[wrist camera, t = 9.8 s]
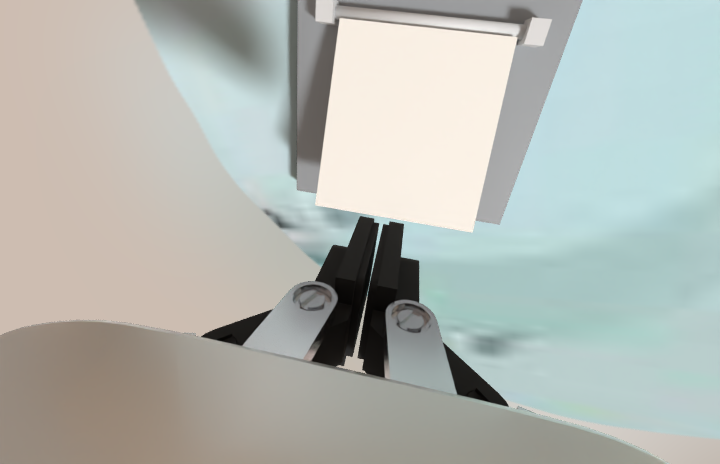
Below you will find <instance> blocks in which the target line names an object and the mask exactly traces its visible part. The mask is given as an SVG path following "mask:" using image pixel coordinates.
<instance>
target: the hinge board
mask: <svg viewBox="0 0 720 464" xmlns="http://www.w3.org/2000/svg"><path fill="white" fill-rule="evenodd" d="M581 3H582V0H298V43H297V190H299V191H305V192H311V193H317V188H318V180H319V172H320V165H321V157H322V149H323V142H324V134H325V126H326V119H327V111H328V103H329V96H330V88H331V80H332V73H333V65H334V57H335V50H336V42H337V35H338V27H339V19H340V18H344V19H353V20H362V21H372V22H381V23H390V24H399V25H409V26H418V27H427V28H437V29H446V30H455V31H465V32H474V33H483V34H493V35H502V36H511V37H518V38H517V42H516V46H515V51H514V55H513V59H512V64H511V68H510V72H509V77H508V81H507V85H506V90H505V94H504V98H503V103H502V107H501V111H500V116H499V120H498V124H497V129H496V133H495V137H494V142H493V146H492V150H491V155H490V159H489V164H488V168H487V172H486V177H485V181H484V185H483V190H482V194H481V198H480V203H479V207H478V211H477V216H476V220H475V221H481V222H487V223H493V224H500V222H501V219H502V216H503V214H504V211H505V208H506V206H507V203H508V200H509V197H510V195H511V192H512V189H513V187H514V184H515V181H516V179H517V176H518V173H519V170H520V168H521V165H522V162H523V160H524V157H525V154H526V152H527V149H528V146H529V144H530V141H531V138H532V135H533V133H534V130H535V127H536V125H537V122H538V119H539V117H540V114H541V111H542V108H543V106H544V103H545V100H546V98H547V95H548V92H549V90H550V87H551V84H552V81H553V79H554V76H555V73H556V71H557V68H558V65H559V63H560V60H561V57H562V54H563V52H564V49H565V46H566V44H567V41H568V38H569V36H570V33H571V30H572V27H573V25H574V22H575V19H576V17H577V14H578V11H579V9H580V6H581Z"/></svg>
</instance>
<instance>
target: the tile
mask: <svg viewBox="0 0 720 464" xmlns="http://www.w3.org/2000/svg"><path fill="white" fill-rule="evenodd" d="M517 38H518V37H511V36H502V35H493V34H483V33H474V32H465V31H455V30H446V29H437V28H427V27H418V26H409V25H399V24H390V23H381V22H372V21H362V20H353V19H344V18H340V19H339V27H338V35H337V42H336V50H335V57H334V65H333V73H332V80H331V88H330V96H329V103H328V111H327V119H326V126H325V134H324V142H323V149H322V157H321V165H320V172H319V180H318V188H317V195H316V203H315V205H317V206H323V207H329V208H335V209H340V210H346V211H352V212H357V213H363V214H369V215H375V216H380V217H386V218H392V219H398V220H403V221H409V222H415V223H421V224H426V225H432V226H438V227H444V228H449V229H455V230H461V231H466V232H472V233H473V229H474V224H475V220H476V216H477V211H478V207H479V203H480V198H481V194H482V190H483V185H484V181H485V177H486V172H487V168H488V164H489V159H490V155H491V150H492V146H493V142H494V137H495V133H496V129H497V124H498V120H499V116H500V111H501V107H502V103H503V98H504V94H505V90H506V85H507V81H508V77H509V72H510V68H511V64H512V59H513V55H514V51H515V46H516V42H517Z"/></svg>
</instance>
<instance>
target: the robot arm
mask: <svg viewBox="0 0 720 464" xmlns="http://www.w3.org/2000/svg"><path fill="white" fill-rule="evenodd" d="M378 227H379V223H374V219H373V218H367V217H362V216H360V218H359V220H358V223H357V225H356V228H355V230H354V233H353V235H352V238H351V240H350V243H349V245H348V247H344V246H338V245H333V246H332V248H331V250H330V252H329V254H328V256H327V258H326V260H325V262H324V264H323V266H322V268H321V270H320V272H319V274H318V276H317V278H316V280H315V281H308V282H303V283H300V284H298V285H296V286H294V287H293V288H292V289H290V291H289V292H288V293H287V294H286V295H285V296H284V297H283V299H282V300H281V301H280V302H279V303H278V304H277V306H276V307H275V308H274V309H272V310H269V311H266V312H264V313H261V314H258V315H255V316H252V317H249V318H247V319H243V320H241V321H238V322H235V323H232V324H229V325H226V326H223V327H220V328H217V329H215V330H212V331H210V332H208V333H206V334H204V335H203V336H201V337H199V336H196V334H195V333H180V332H175V331H170V330H165V329H159V328H153V327H148V326H142V325H137V324H131V323H125V322H115V321H106V320H71V321H59V322H49V323H42V324H36V325H31V326H27V327H22V328H19V329H16V330H13V331H10V332H7V333H4V334H2V335H0V464H670V463H668V462H666V461H664V460H663V459H661V458H659V457H657V456H655V455H653V454H651V453H650V452H648V451H646V450H644V449H641V448H639V447H637V446H634V445H632V444H630V443H627V442H625V441H623V440H620V439H618V438H616V437H613V436H610V435H607V434H604V433H601V432H598V431H596V430H592V429H590V428H587V427H584V426H580V425H577V424H573V423H569V422H565V421H562V420H558V419H554V418H551V417H547V416H543V415H540V414H536V413H533V412H531V411H529V410H526V409H524V408H522V407H519V406H518V407H517V409H515V408H511V407H509V406H508V404H507V402H506V401H505V400H504V399H503V398H502V397H501V395H500V394H499V393H498V392H497V391H495V390H494V389H493V388H492V387H491V386H490V385H489V384H488V383H487V382H486V381H485V380H483V379H482V378H481V377H480V376H479V375H478V374H477V373H476V372H475V371H474V370H473V369H471V368H470V367H469V366H468V365H467V364H466V363H465V362H464V361H463V360H462V359H461V358H459V357H458V356H457V355H456V354H455V353H454V352H453V351H452V350H451V349H450V348H449V347H447V346H446V345H445V344H444V343H443V341H442V337H441V334H440V330H439V326H438V323H437V319H436V317H435V315H434V314H433V312H432V311H431V310H430V309H429V308H427V307H426V306H424V305H423V304H421V303H419V261H418V260H413V259H407V258H402V257H401V248H402V238H403V228H404V224H401V223H395V222H390V223H389V225H385V224H383V228H382V233H381V237H380V241H379V246H378V250H377V254H376V259H375V263H374V268H373V272H372V276H371V270H372V264H373V258H374V252H375V246H376V240H377V234H378ZM370 277H371V281H370ZM369 282H370V286H369ZM368 288H369V291H368ZM367 292H368V297H367V303H366V310H365V316H364V322H363V328H362V334H361V340H360V347H359V352H358V358H360V359H364V362H363V369H362V370H364V371H365V372H366V373H367V374H365V373H361V372H356V371H352V370H348V369H343V368H339V367H336V366H338V365H341V366H344V363H345V359H346V356H351V357H352V356H353V353H354V348H355V344H356V339H357V335H358V331H359V327H360V322H361V318H362V313H363V309H364V305H365V301H366V296H367Z"/></svg>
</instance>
